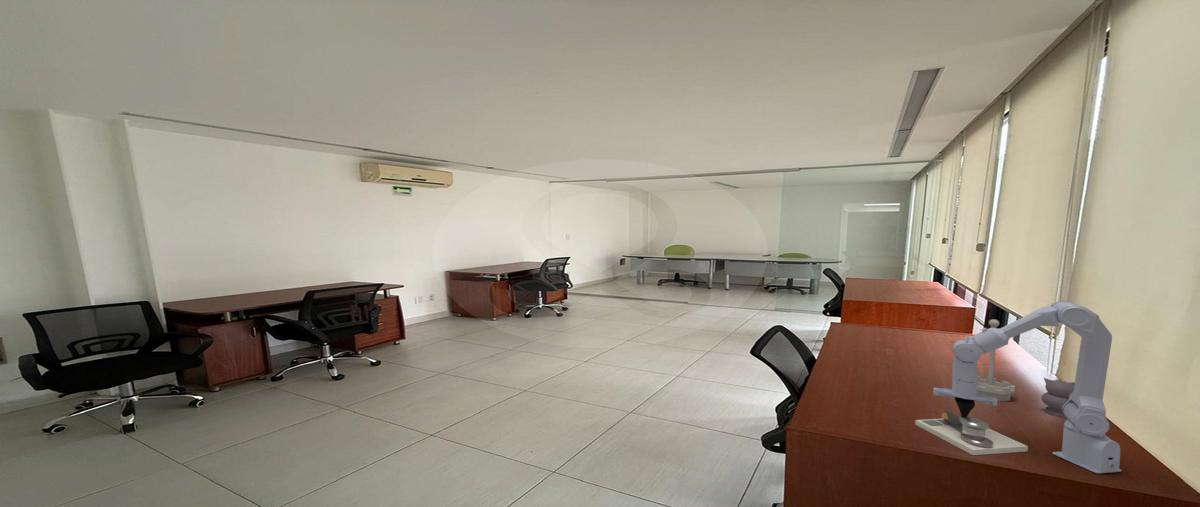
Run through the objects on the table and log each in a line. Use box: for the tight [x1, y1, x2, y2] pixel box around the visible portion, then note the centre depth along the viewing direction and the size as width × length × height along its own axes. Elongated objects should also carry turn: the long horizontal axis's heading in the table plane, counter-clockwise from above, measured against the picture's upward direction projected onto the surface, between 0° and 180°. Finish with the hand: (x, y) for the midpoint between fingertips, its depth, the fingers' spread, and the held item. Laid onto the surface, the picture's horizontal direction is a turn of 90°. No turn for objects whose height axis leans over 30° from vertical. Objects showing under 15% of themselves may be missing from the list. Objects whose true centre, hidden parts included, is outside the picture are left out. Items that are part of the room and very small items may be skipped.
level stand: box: [914, 418, 1029, 456], centre depth 121 cm, size 18×18×2 cm
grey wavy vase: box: [1040, 377, 1075, 419], centre depth 136 cm, size 8×8×12 cm
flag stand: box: [977, 318, 1016, 402], centre depth 152 cm, size 13×13×30 cm
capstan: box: [941, 410, 993, 447], centre depth 120 cm, size 17×7×5 cm, turn 172°
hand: (963, 422), depth 123 cm, fingers closed, pressing on capstan
